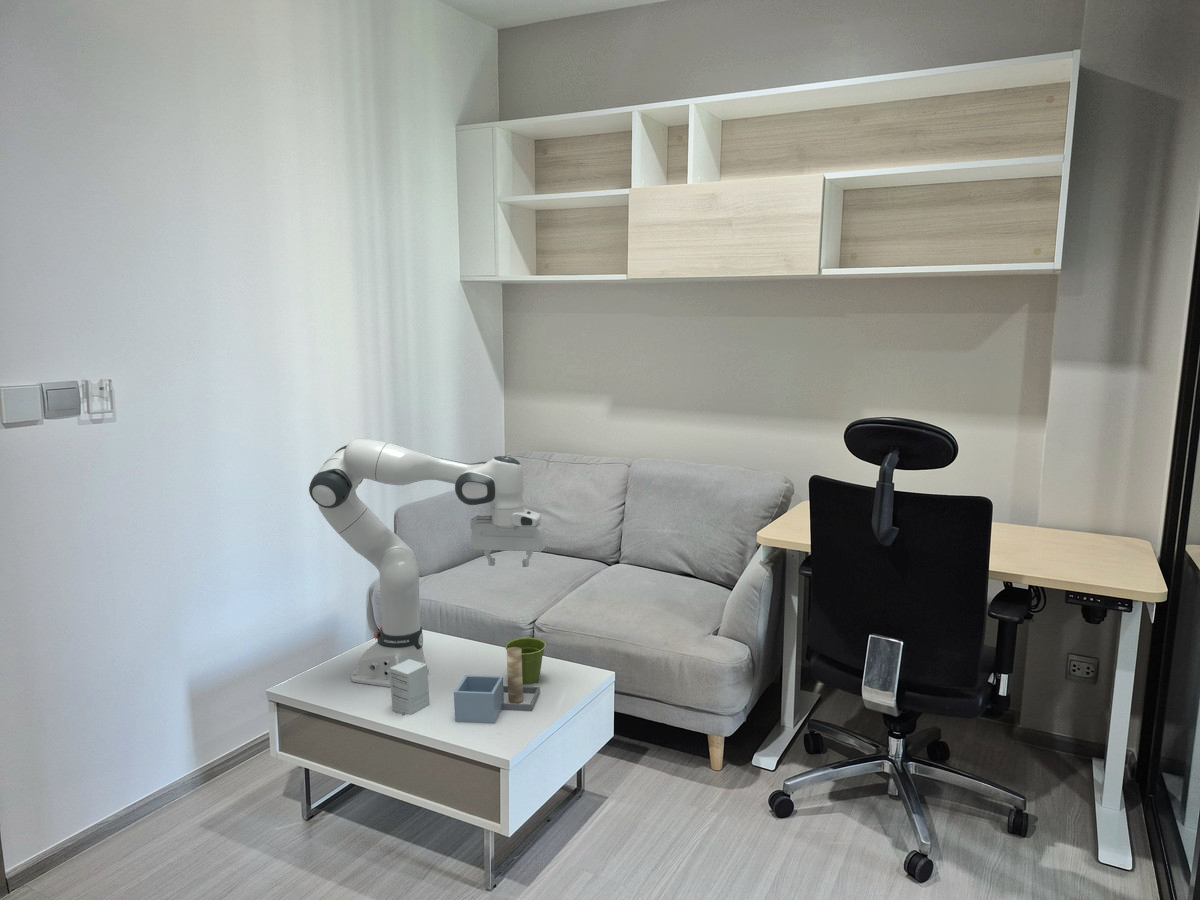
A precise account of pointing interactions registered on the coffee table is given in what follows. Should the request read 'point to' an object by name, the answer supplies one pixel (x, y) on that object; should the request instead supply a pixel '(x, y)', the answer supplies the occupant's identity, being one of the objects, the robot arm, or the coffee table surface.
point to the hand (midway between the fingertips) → (508, 565)
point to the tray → (522, 706)
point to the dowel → (515, 675)
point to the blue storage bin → (479, 699)
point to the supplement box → (409, 687)
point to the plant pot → (529, 657)
